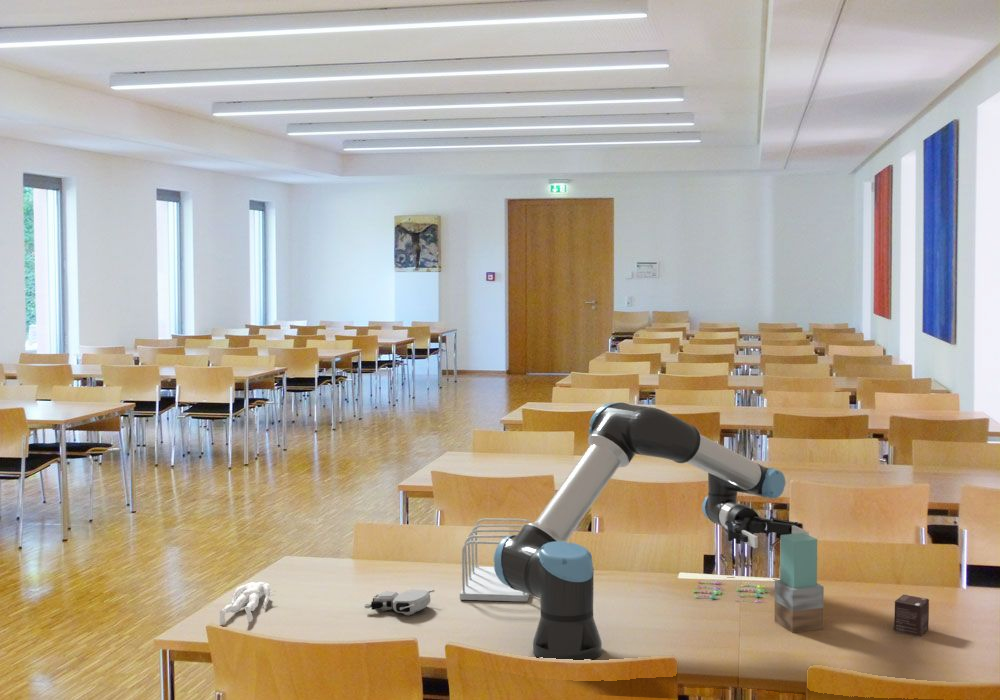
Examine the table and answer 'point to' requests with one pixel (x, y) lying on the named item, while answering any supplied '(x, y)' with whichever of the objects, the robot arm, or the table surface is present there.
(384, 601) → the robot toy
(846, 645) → the table surface
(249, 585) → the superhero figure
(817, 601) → the grey wood-grain cube
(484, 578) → the file sorter
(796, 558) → the teal brick
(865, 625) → the table surface
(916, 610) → the box
